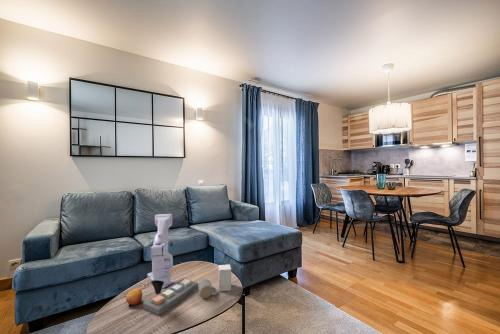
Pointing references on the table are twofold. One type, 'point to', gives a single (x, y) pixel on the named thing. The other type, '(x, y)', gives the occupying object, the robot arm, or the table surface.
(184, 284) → the key ivory
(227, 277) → the supplement box
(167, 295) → the key sage
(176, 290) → the key bluegrey
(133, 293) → the fruit
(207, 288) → the ceramic mug
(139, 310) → the table surface
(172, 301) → the keypad
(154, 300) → the key terracotta
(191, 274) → the table surface
